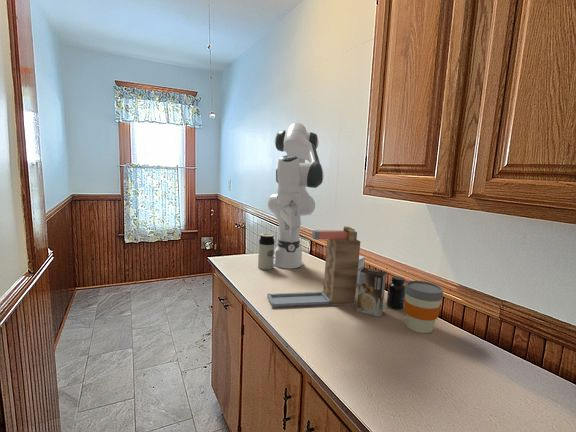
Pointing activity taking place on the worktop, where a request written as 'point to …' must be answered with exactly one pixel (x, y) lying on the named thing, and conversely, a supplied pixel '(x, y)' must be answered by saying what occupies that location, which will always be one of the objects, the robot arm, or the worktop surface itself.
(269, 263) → the travel mug
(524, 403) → the worktop surface
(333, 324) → the worktop surface
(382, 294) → the coffee box
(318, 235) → the bar
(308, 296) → the tray
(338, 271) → the tall wooden block
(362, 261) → the supplement box
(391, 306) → the supplement bottle
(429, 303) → the reusable coffee cup
